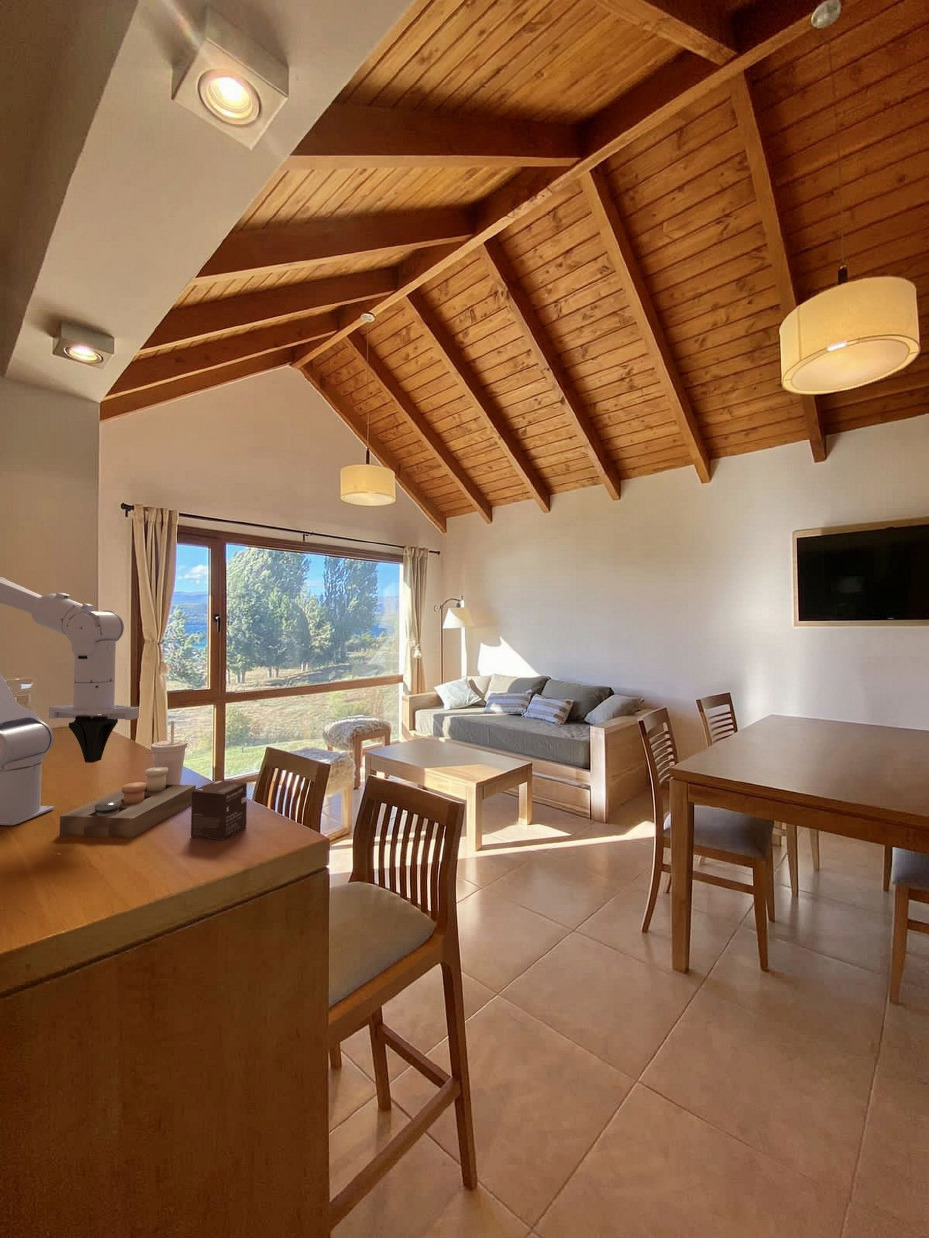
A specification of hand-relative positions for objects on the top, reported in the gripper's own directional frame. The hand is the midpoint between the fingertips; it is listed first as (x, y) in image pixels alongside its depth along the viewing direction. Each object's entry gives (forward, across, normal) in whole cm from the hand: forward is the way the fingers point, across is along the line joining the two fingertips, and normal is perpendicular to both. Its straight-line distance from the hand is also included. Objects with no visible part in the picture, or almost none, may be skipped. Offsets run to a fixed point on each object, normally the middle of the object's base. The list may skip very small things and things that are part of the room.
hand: (93, 761), depth 88 cm
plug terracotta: (+8, +6, +2) cm, 11 cm away
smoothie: (+10, +4, +15) cm, 18 cm away
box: (+10, +24, -3) cm, 26 cm away
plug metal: (+10, +6, -4) cm, 12 cm away
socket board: (+10, +6, +2) cm, 12 cm away
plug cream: (+7, +6, +8) cm, 12 cm away
